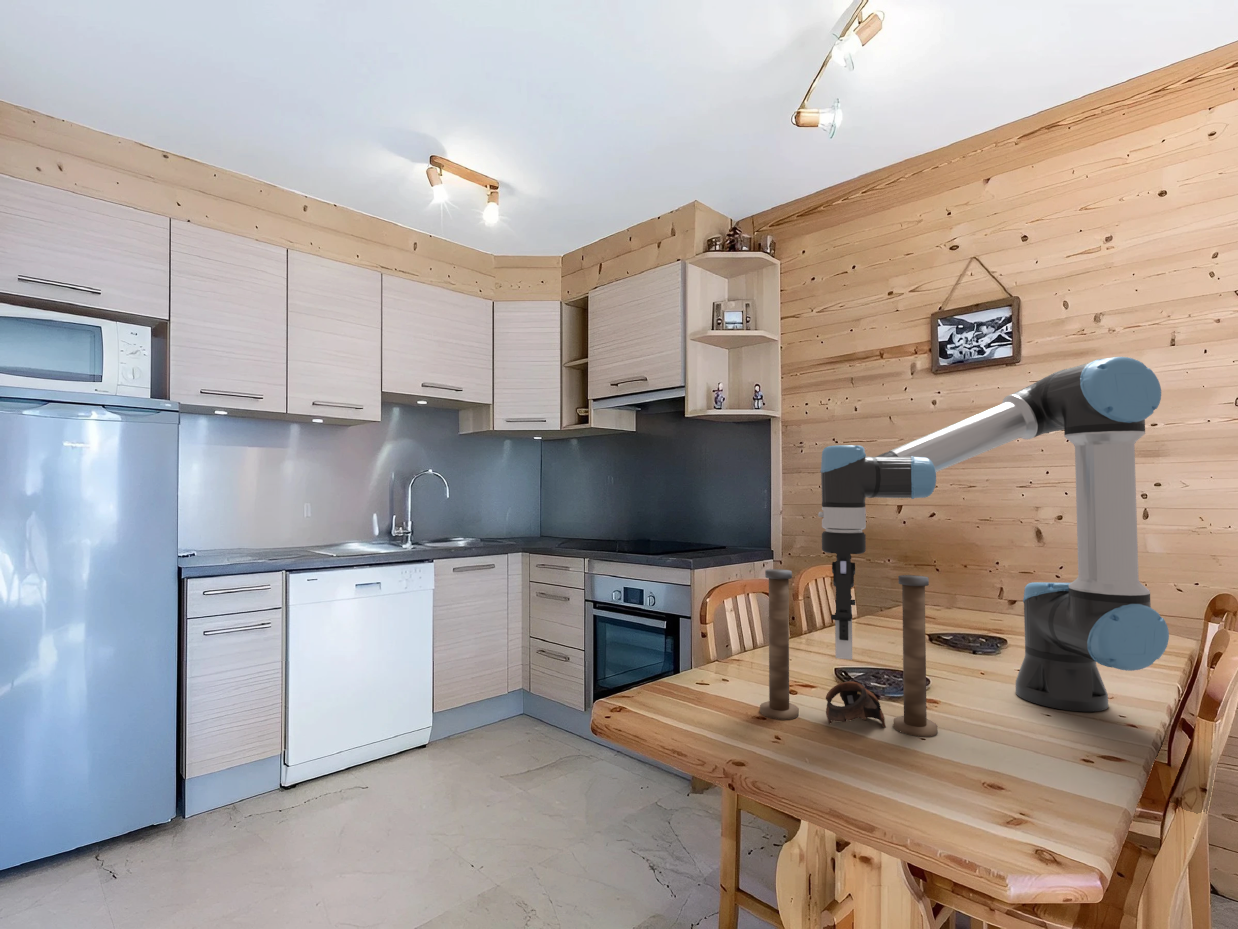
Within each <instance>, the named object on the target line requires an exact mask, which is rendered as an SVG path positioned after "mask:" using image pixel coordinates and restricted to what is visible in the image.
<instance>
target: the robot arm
mask: <svg viewBox="0 0 1238 929" xmlns="http://www.w3.org/2000/svg"><path fill="white" fill-rule="evenodd" d="M1161 399H1162V388H1161V384H1160V381H1159V379H1158V377H1157V375H1156V374H1155V373H1154V371H1153V370H1152V369H1151V368H1149V367H1147V366H1146V365H1145V363H1143V362H1142V361H1140V360H1138V359H1135V358H1133V357H1132V358H1131V357H1128V356H1127V357H1126V356H1114V357H1106V358H1098V359H1095V360H1092V361H1090V362H1087V363H1084V364H1079V365H1077V366H1073V367H1069V368H1064V369H1061V370H1058V371H1055V372H1053V373H1051V374H1049V375H1048V376H1045V377H1043V378H1041V379H1039V380H1037V381H1035V382H1034V383H1032V384H1029V385H1027V386H1025V387H1024V388H1022V389H1019V390H1018V391H1015V392H1013V393H1011V394H1009V395H1006V396H1004V398H1003V399H1002V402H1001V403H1000V404H998V405H996V406H992V407H991V408H988V409H986V410H983V411H981V412H978V413H977V414H974V415H971V416H969V417H967V418H964V419H962V420H960V421H958V422H955V423H953V424H950V425H948V426H945V427H943V428H940V429H938V430H935V431H933V432H931V433H929V434H926V435H923V436H921V437H919V438H917V439H915V440H912V441H910V442H907V443H905V444H901V445H899V446H897V447H895V448H893V449H891V450H889V451H887V452H884V453H881V454H879V455H876V456H869V455H867V453H866V450H865V447H863V446H862V445H855V444H853V445H852V444H850V445H848V444H847V445H845V444H843V445H842V444H841V445H839V444H837V445H829V446H826V447H824V448H823V449H822V452H821V462H820V463H821V464H820V471H819V472H820V479H821V483H820V484H821V486H820V487H821V510H822V511H819V512H818V514H817V516H818V517H819V518H822V519H821V528H822V529H825V530H823V531H822V533H821V550H822V551H823V552H824V553H828V554H836V556H835V557H836V560H835V561H832V563H831V573H832V576H833V579H832V582H833V586H834V587H835V612H834V614H832V613H831V615H830V616H831V617H830V618H831V621H834V623H835V624H834V626H835V627H834V630H835V632H834V634H835V635H834V636H835V637H834V638H835V640H834V641H835V648H834V649H835V659H840V660H852V661H853V606H856V599H852V598H853V597H852V596H853V595H852V588H854V586H855V575H856V562H851V560H852V555H860V554H864V553H866V549H867V546H866V544H867V541H866V534H865V532H863V530H865V529H866V528H867V527H866V526H867V518H866V517H867V516H866V515H867V514H866V513H867V512H866V498H868V499H874V498H875V499H876V498H880V499H882V498H883V499H911V500H914V499H923V498H929V496H931V495H932V494H933V492H934V491H935V488H936V484H937V473H938V472H940V471H943V470H945V469H947V468H950V467H952V466H954V465H957V464H959V463H962V462H964V461H967V460H969V459H971V458H972V459H973V458H974V457H977V456H978V455H982V454H983V453H986V452H989V451H991V450H993V449H995V448H998V447H1000V446H1003V445H1005V444H1008V443H1011V442H1013V441H1014V440H1018V439H1023V440H1031V439H1033V438H1036V437H1038V436H1040V435H1044V434H1049V433H1054V432H1058V431H1059V432H1060V431H1064V432H1063V433H1064V438H1066V439H1067V440H1068V441H1069V442H1070V443H1071V444H1072V445H1073V446H1074V464H1075V466H1074V467H1075V497H1076V498H1075V499H1076V500H1075V501H1076V503H1075V504H1076V506H1075V507H1076V537H1077V539H1076V540H1077V541H1076V542H1077V544H1076V546H1077V573H1078V575H1077V577H1076V578H1075V579H1074V580H1073V581H1072V582H1044V581H1043V582H1042V581H1041V582H1040V581H1038V582H1029V583H1027V584H1026V585H1025V586H1024V592H1023V599H1022V602H1023V610H1024V611H1023V614H1024V615H1023V616H1024V617H1023V618H1024V619H1023V620H1024V621H1023V622H1024V658H1023V660H1022V663H1021V666H1020V668H1019V670H1018V674H1017V676H1016V679H1015V694H1016V695H1017V696H1018V697H1019V698H1021V699H1023V700H1024V701H1025V700H1026V701H1028V702H1030V703H1034V704H1037V705H1039V706H1043V707H1048V708H1052V709H1058V710H1064V711H1070V712H1085V713H1086V712H1089V713H1090V712H1102V711H1104V710H1107V709H1108V707H1109V694H1108V692H1107V689H1106V687H1105V684H1104V680H1103V679H1102V676H1101V674H1100V671H1099V668H1098V666H1097V664H1099V665H1101V666H1104V667H1107V668H1113V669H1116V670H1120V671H1126V672H1132V671H1140V670H1143V669H1146V668H1149V667H1150V666H1152V665H1153V664H1154V662H1156V660H1160V659H1161V657H1162V656H1163V655H1164V654H1165V652H1166V649H1167V647H1168V644H1169V641H1170V640H1169V639H1170V632H1169V627H1168V624H1167V622H1166V620H1165V619H1164V618H1163V617H1162V616H1161V615H1160V613H1159V612H1158V611H1157V610H1155V609H1153V608H1152V607H1151V592H1150V591H1151V590H1150V589H1148V588H1147V587H1146V586H1145V585H1144V584H1142V582H1141V581H1140V578H1139V554H1138V553H1139V550H1138V547H1139V546H1138V520H1137V519H1138V518H1137V516H1138V515H1137V514H1138V513H1137V487H1136V486H1137V485H1136V484H1137V483H1136V459H1135V458H1136V454H1135V453H1136V452H1135V450H1136V449H1135V444H1136V443H1137V442H1138V441H1139V439H1141V438H1142V437H1143V436H1144V435H1145V434H1146V419H1147V418H1148V417H1150V416H1151V415H1152V414H1154V413H1155V412H1154V411H1155V410H1156V409H1158V407H1159V406H1160V404H1161Z"/></svg>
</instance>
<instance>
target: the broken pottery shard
mask: <svg viewBox="0 0 1238 929" xmlns="http://www.w3.org/2000/svg"><path fill="white" fill-rule="evenodd" d="M858 692H859V693H860V694H859V693H858ZM838 695H839V697H840V699H841V700H842V701H843V704H844V705H841V706H840V705H835V704H833V702H832V701H833V699H834V698H835V697H836V696H838ZM825 700H826V702H827V703H826V708H825V714H826V719H827V722H828V724H830V723H831V724H832V722H838V723H839V722H840V723H846V722H849V721H851V722H852V721H854V720H857V719H860V720H861V719H862V720H863V721H866V720H867V719H869V718H870V719H871V718H872V719H875V720H878V721H880V722H881V724H882V725H881V726H882V727H885V728H886V720H885V719H886V718H885V715H884V713H883V710H882V708H881V703H880V702H879V699H878V697H877V696H876V695H875V694H874V693H873V692H872V691H870V690H869V689H867V688H865V687H864V685H863V684H861V683H860V682H858V681H850V680H845V681H844V682H841V683H838V684H836V685H834V686H833V687H831V688H830V690H828V692H827V693H826V696H825Z"/></svg>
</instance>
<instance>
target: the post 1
mask: <svg viewBox="0 0 1238 929" xmlns="http://www.w3.org/2000/svg"><path fill="white" fill-rule="evenodd" d="M765 578H767V579H768V671H769V672H768V678H769V679H768V685H769V686H768V687H769V689H768V690H769V691H768V696H769V698H768V701H764V702H762V703H760V704H759V713H760V714H761V715H762V716H764V717H767V718H770V719H774V720H785V721H786V720H793V719H797V718H798V717H799V715H800V713H799V712H800V708H799V707H798V706H797V705H796V704H794V703H791V702H790V623H789V622H790V620H789V618H790V617H789V616H790V612H789V611H790V610H789V609H790V607H789V606H790V605H789V603H790V602H789V600H790V598H789V597H790V596H789V595H790V594H789V590H790V589H789V580H790V579H793V571H792V570H790V569H778V568H775V569H774V568H772V569H771V568H769V569H765Z"/></svg>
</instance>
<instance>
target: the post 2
mask: <svg viewBox="0 0 1238 929" xmlns="http://www.w3.org/2000/svg"><path fill="white" fill-rule="evenodd" d="M898 584H899V585H901V587H902V588H901V590H902V593H901V594H902V595H901V596H902V600H901V601H902V675H903V678H902V679H903V682H902V683H903V684H902V685H903V691H902V692H903V715H900V716H895V717H894V718H893V719H892V725H893V726H892V727H893V728H894V730H896V731H897V730H898V732H899V731H901V732H900V733H901V734H904V733H905V735H908V736H913V737H921V738H922V737H923V738H928V737H934V736H937V735H938V733H939V732H938V730H939V728H938V724H937V723H936V722H934V721H933V720H930V719H928V717H927V658H926V656H927V655H926V652H927V648H926V643H927V642H926V639H927V638H926V637H927V636H926V635H927V634H926V586H929V584H930V581H929V577H927V576H924V575H912V574H904V575H903V574H902V575H898Z"/></svg>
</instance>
